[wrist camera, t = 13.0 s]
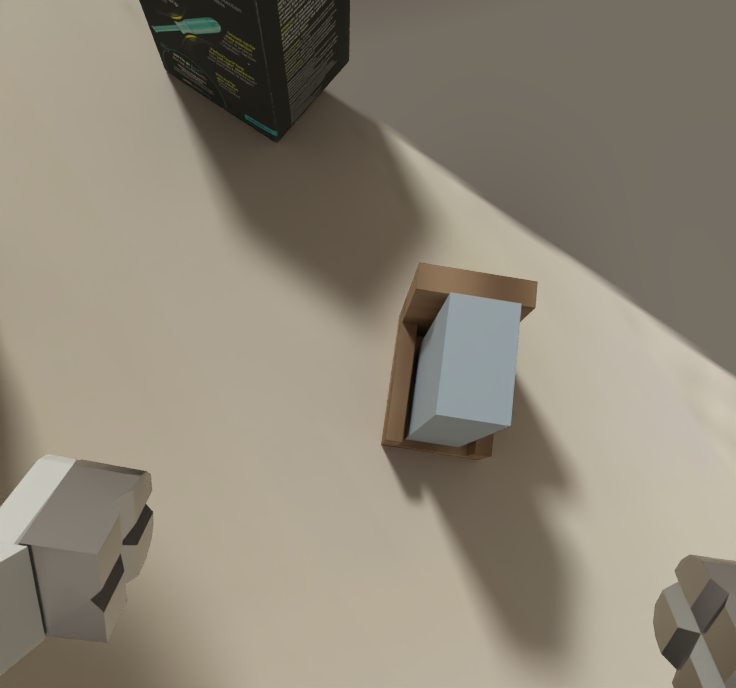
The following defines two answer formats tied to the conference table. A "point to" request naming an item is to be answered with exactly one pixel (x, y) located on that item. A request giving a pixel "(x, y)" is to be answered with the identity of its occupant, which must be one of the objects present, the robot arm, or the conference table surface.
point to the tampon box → (253, 53)
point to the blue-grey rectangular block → (465, 372)
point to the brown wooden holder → (412, 328)
